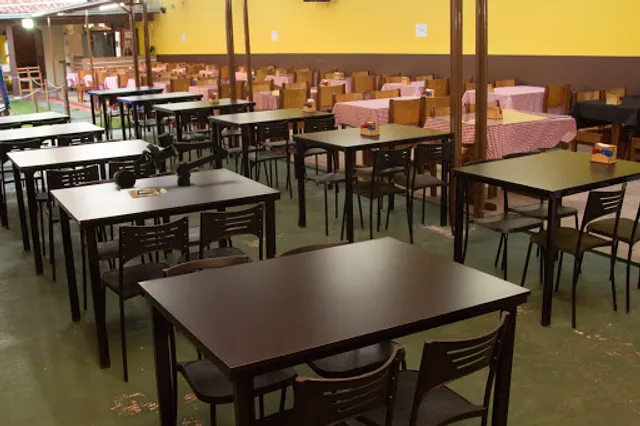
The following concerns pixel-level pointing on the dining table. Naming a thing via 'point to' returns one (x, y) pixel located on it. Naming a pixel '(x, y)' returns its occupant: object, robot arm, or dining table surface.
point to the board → (137, 195)
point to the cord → (163, 191)
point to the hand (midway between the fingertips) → (137, 165)
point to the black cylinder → (125, 179)
